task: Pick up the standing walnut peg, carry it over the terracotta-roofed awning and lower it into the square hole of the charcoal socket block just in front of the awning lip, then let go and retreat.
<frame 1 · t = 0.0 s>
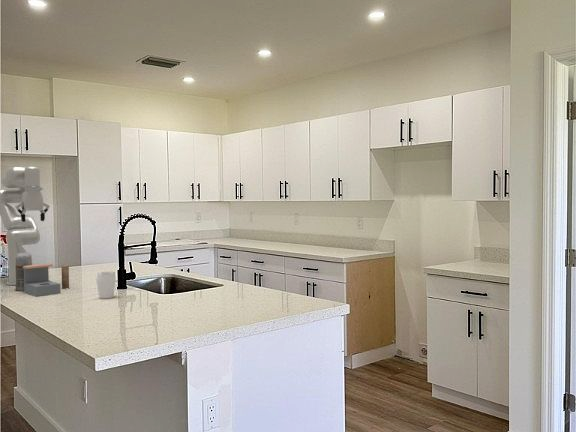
hand: (33, 221, 278), 37 cm above the worktop, tool pointing down, fingers open, 9 cm apart
cup: (106, 297, 255), on the worktop
spray can: (24, 290, 276), on the worktop
peg: (65, 288, 281), on the worktop
socket block: (45, 293, 265), on the worktop
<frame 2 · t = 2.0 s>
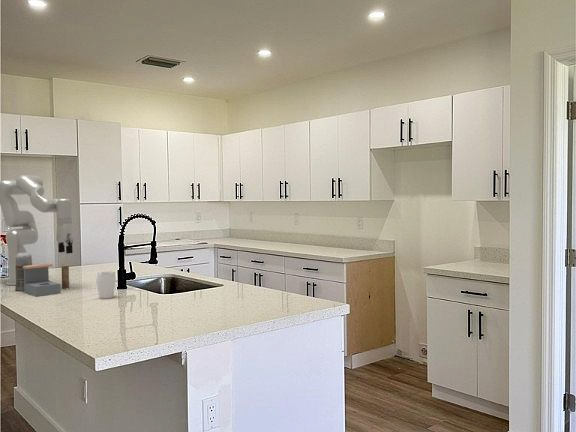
hand: (65, 252, 280), 19 cm above the worktop, tool pointing down, fingers open, 9 cm apart
nothing on the worktop moved.
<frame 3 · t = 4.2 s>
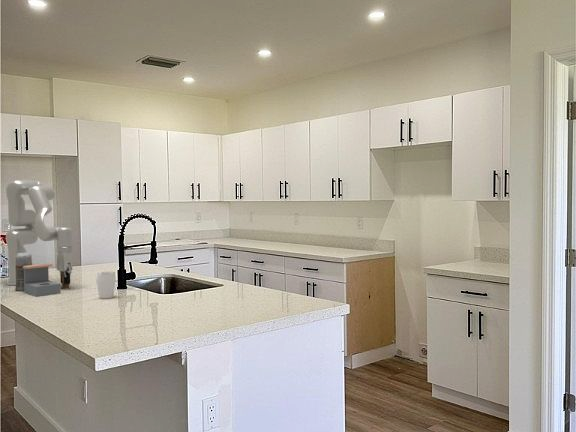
hand: (65, 283, 280), 3 cm above the worktop, tool pointing down, fingers closed on peg, 3 cm apart
peg: (65, 288, 281), on the worktop, touching gripper
everything else where it was.
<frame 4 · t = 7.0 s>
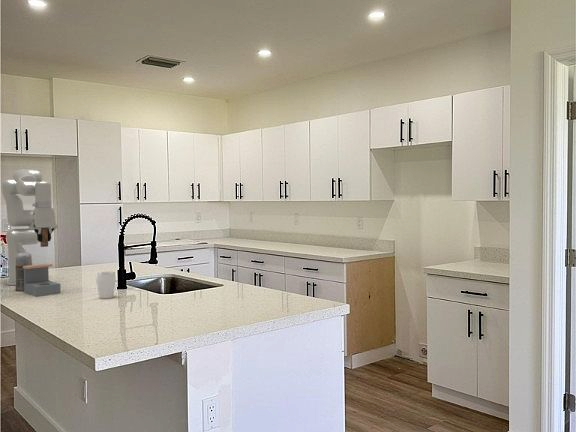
hand: (44, 241, 264), 27 cm above the worktop, tool pointing down, fingers closed on peg, 3 cm apart
peg: (44, 246, 264), point 24 cm above the worktop, touching gripper
everything else where it was.
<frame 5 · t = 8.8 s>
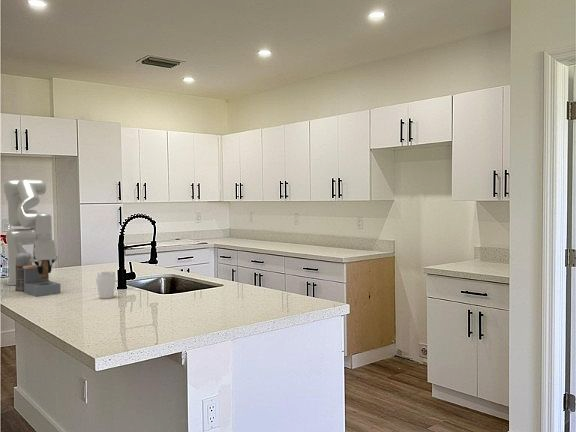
hand: (44, 272, 264), 11 cm above the worktop, tool pointing down, fingers closed on peg, 3 cm apart
peg: (44, 278, 264), point 8 cm above the worktop, touching gripper
everything else where it was.
when the fingers open (6 cm above the worktop, at t = 10.0 s): peg drops 3 cm, resting in socket block.
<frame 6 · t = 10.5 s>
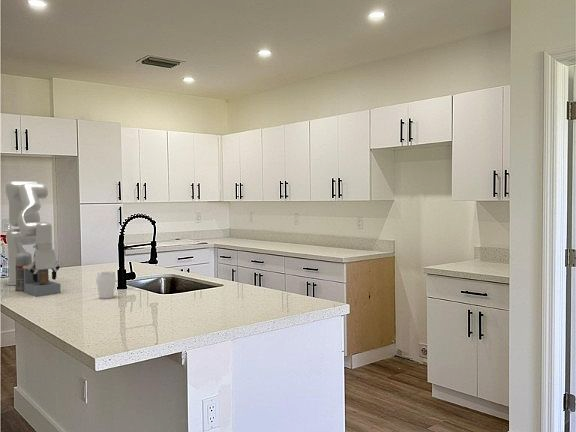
hand: (44, 280, 265), 7 cm above the worktop, tool pointing down, fingers open, 8 cm apart
peg: (44, 293, 265), resting in socket block
everything else where it was.
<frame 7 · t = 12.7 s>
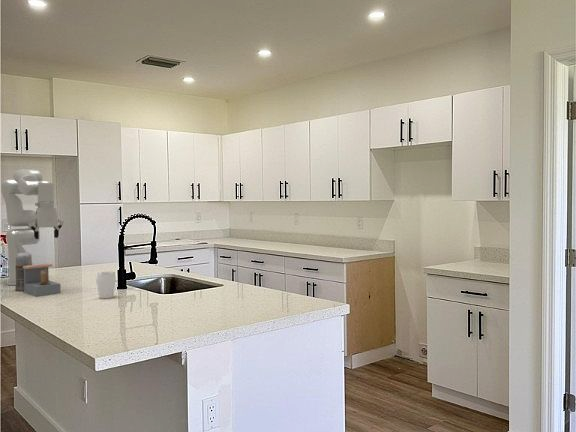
hand: (46, 238, 266), 29 cm above the worktop, tool pointing down, fingers open, 9 cm apart
nothing on the worktop moved.
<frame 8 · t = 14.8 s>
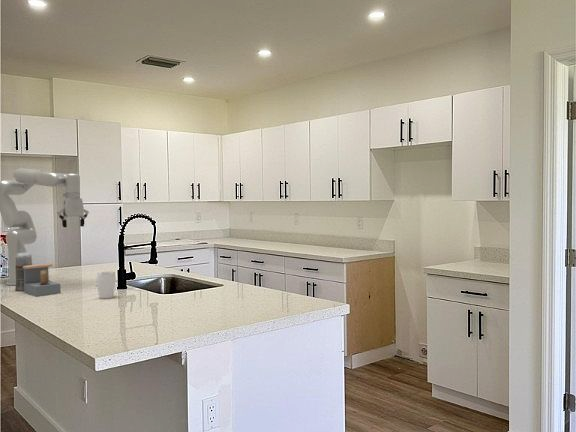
hand: (73, 226, 285), 33 cm above the worktop, tool pointing down, fingers open, 9 cm apart
nothing on the worktop moved.
at the end: peg 0.1 cm off-centre on the socket block, point 0.0 cm above the socket block's base; peg tilted 0°; the gripper is holding nothing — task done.
